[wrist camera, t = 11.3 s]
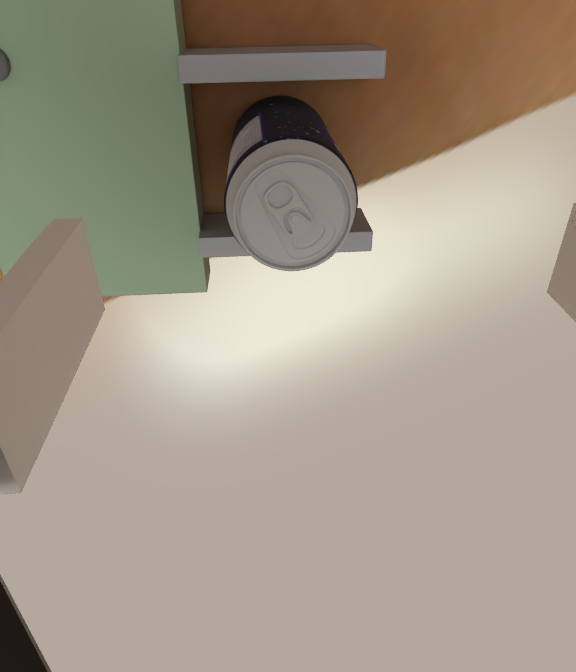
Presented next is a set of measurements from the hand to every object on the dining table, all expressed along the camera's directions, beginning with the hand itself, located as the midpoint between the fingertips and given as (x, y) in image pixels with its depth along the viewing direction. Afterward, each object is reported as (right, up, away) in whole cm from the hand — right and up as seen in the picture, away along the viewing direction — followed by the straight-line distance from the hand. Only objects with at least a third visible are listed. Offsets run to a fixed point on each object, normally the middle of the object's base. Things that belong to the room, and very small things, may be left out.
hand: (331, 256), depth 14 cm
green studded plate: (-8, +9, +16) cm, 20 cm away
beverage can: (-2, +9, +17) cm, 19 cm away
